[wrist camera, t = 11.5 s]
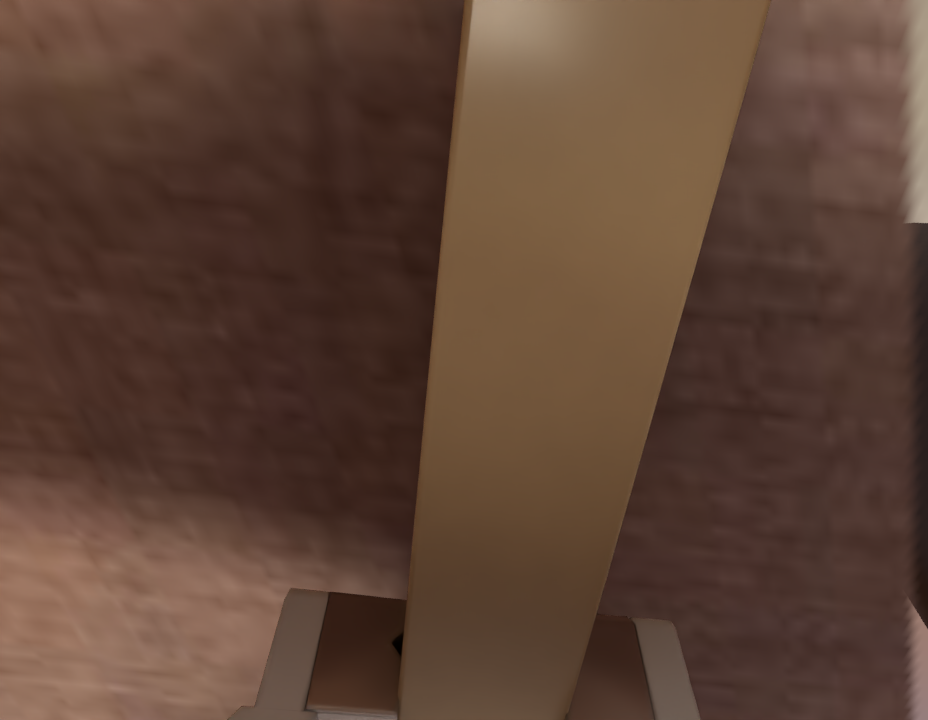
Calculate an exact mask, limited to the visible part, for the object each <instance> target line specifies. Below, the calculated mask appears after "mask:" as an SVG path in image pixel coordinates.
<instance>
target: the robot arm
mask: <svg viewBox="0 0 928 720" xmlns="http://www.w3.org/2000/svg"><path fill="white" fill-rule="evenodd" d="M406 604H407V600H402V599H393V598H384V597H375V596H365V595H356V594H347V593H338V592H326V591H316V590H306V589H296V588H290V590H289V592H288V594H287V596H286V597H285V599H284V603H283V607H282V610H281V614H280V617H279V621H278V624H277V628H276V631H275V635H274V638H273V642H272V646H271V649H270V653H269V656H268V660H267V663H266V667H265V670H264V674H263V678H262V681H261V685H260V688H259V692H258V695H257V699H256V702H255V706H254V707H251V706H241V707H240V708H239V709H238V710H237V711H236V712H235V713H234V714H233V715H232V716H231V717H230V718H229V719H227V720H398V709H399V698H398V688H399V677H400V667H401V656H402V646H403V635H404V625H405V615H406ZM564 720H701V719H700V715H699V712H698V708H697V704H696V701H695V697H694V693H693V690H692V686H691V682H690V679H689V675H688V672H687V668H686V664H685V661H684V657H683V653H682V650H681V646H680V642H679V639H678V635H677V632H676V628H675V626H674V625H673V624H672V623H671V621H670V620H658V619H646V618H634V617H631V618H628V617H627V616H615V615H601V614H596V617H595V621H594V624H593V628H592V631H591V635H590V638H589V642H588V645H587V649H586V652H585V656H584V659H583V663H582V666H581V670H580V673H579V677H578V680H577V684H576V687H575V691H574V694H573V698H572V701H571V705H570V708H569V711H568V713H566V716H565V719H564Z"/></svg>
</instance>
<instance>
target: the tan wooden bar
mask: <svg viewBox="0 0 928 720" xmlns="http://www.w3.org/2000/svg"><path fill="white" fill-rule="evenodd" d="M770 3H771V0H464V9H463V19H462V29H461V40H460V50H459V61H458V71H457V82H456V92H455V103H454V113H453V124H452V134H451V144H450V155H449V165H448V176H447V186H446V197H445V207H444V218H443V228H442V238H441V249H440V259H439V270H438V280H437V291H436V301H435V312H434V322H433V332H432V343H431V353H430V364H429V374H428V385H427V395H426V406H425V416H424V426H423V437H422V447H421V458H420V468H419V479H418V489H417V500H416V510H415V521H414V531H413V541H412V552H411V562H410V573H409V583H408V594H407V604H406V615H405V625H404V635H403V646H402V656H401V667H400V677H399V688H398V698H399V709H398V720H564V719H565V716H566V713H568V711H569V708H570V705H571V701H572V698H573V694H574V691H575V687H576V684H577V680H578V677H579V673H580V670H581V666H582V663H583V659H584V656H585V652H586V649H587V645H588V642H589V638H590V635H591V631H592V628H593V624H594V621H595V617H596V614H597V610H598V607H599V603H600V600H601V596H602V593H603V589H604V586H605V582H606V579H607V575H608V572H609V568H610V565H611V561H612V558H613V554H614V551H615V547H616V544H617V540H618V537H619V533H620V529H621V526H622V522H623V519H624V515H625V512H626V508H627V505H628V501H629V498H630V494H631V491H632V487H633V484H634V480H635V477H636V473H637V470H638V466H639V463H640V459H641V456H642V452H643V449H644V445H645V442H646V438H647V435H648V431H649V428H650V424H651V421H652V417H653V414H654V410H655V407H656V403H657V400H658V396H659V393H660V389H661V386H662V382H663V379H664V375H665V372H666V368H667V365H668V361H669V358H670V354H671V351H672V347H673V344H674V340H675V336H676V333H677V329H678V326H679V322H680V319H681V315H682V312H683V308H684V305H685V301H686V298H687V294H688V291H689V287H690V284H691V280H692V277H693V273H694V270H695V266H696V263H697V259H698V256H699V252H700V249H701V245H702V242H703V238H704V235H705V231H706V228H707V224H708V221H709V217H710V214H711V210H712V207H713V203H714V200H715V196H716V193H717V189H718V186H719V182H720V179H721V175H722V172H723V168H724V165H725V161H726V158H727V154H728V151H729V147H730V143H731V140H732V136H733V133H734V129H735V126H736V122H737V119H738V115H739V112H740V108H741V105H742V101H743V98H744V94H745V91H746V87H747V84H748V80H749V77H750V73H751V70H752V66H753V63H754V59H755V56H756V52H757V49H758V45H759V42H760V38H761V35H762V31H763V28H764V24H765V21H766V17H767V14H768V10H769V7H770Z"/></svg>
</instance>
